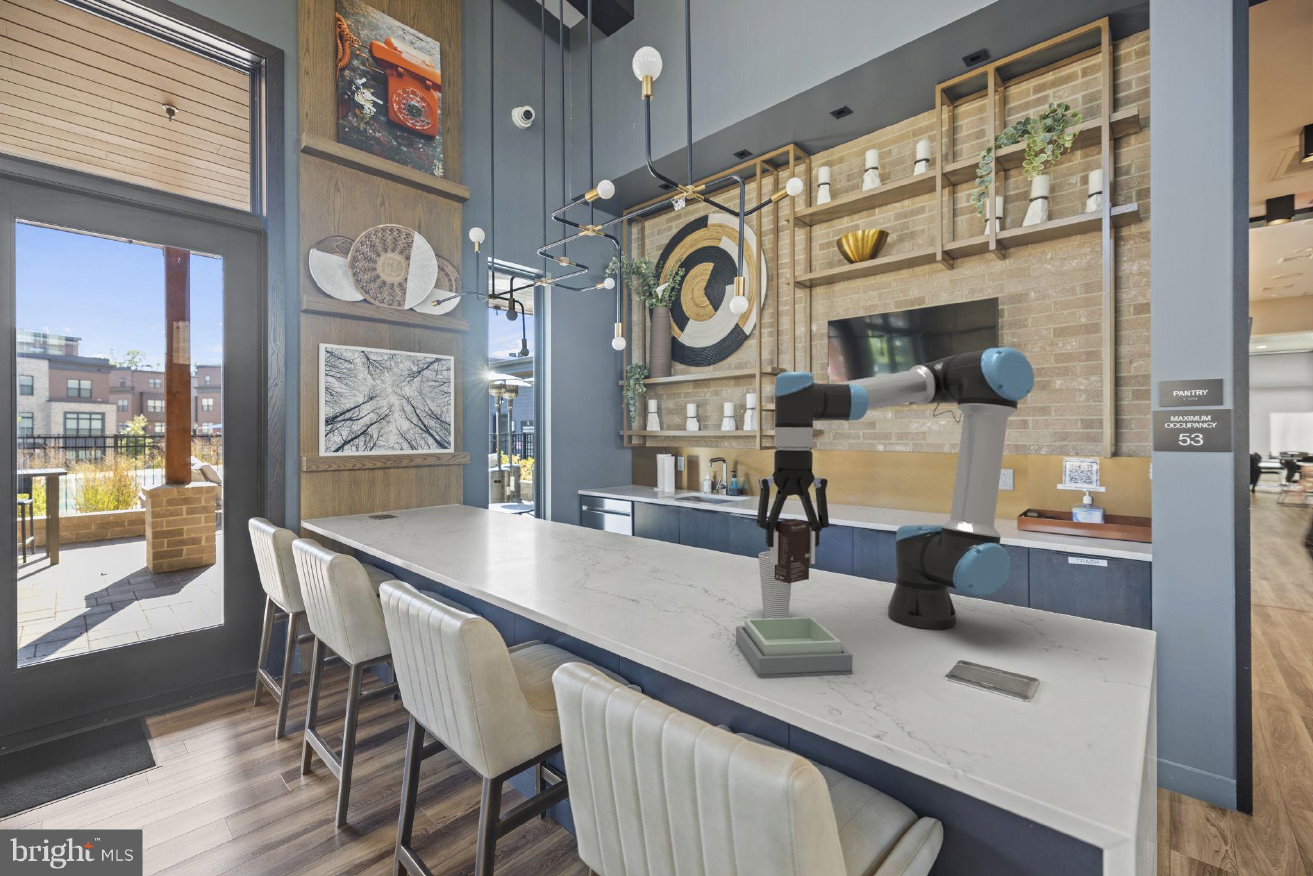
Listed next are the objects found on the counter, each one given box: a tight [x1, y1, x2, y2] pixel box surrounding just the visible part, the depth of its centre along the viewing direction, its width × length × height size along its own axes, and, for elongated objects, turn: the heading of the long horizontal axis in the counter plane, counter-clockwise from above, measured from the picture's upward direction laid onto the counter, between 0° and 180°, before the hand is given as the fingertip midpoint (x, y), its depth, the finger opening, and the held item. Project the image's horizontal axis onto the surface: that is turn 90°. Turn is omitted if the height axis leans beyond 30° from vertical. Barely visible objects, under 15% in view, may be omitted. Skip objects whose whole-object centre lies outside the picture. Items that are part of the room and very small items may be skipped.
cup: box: [758, 550, 792, 618], centre depth 142 cm, size 8×8×16 cm
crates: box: [735, 616, 853, 679], centre depth 117 cm, size 18×18×6 cm
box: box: [774, 518, 811, 584], centre depth 117 cm, size 6×4×12 cm
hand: (792, 562), depth 117 cm, fingers closed on box, 7 cm apart
